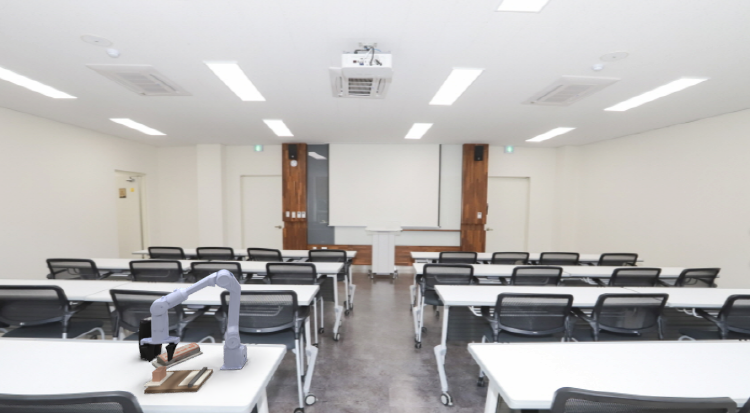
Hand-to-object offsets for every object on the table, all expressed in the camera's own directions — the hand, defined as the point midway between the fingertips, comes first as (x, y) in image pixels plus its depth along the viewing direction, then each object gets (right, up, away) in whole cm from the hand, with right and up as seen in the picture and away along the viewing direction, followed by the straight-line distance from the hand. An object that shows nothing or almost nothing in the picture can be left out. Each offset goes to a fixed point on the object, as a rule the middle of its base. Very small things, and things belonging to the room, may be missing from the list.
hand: (160, 360), depth 120 cm
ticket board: (+8, -9, 0) cm, 12 cm away
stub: (0, -8, 0) cm, 8 cm away
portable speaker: (-20, -9, +21) cm, 30 cm away
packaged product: (-5, -10, +19) cm, 22 cm away
